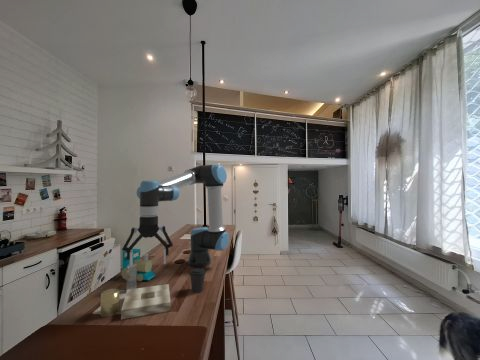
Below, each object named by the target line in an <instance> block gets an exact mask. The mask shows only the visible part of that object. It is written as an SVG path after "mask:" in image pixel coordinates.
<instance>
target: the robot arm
mask: <svg viewBox="0 0 480 360" xmlns="http://www.w3.org/2000/svg"><path fill="white" fill-rule="evenodd" d="M227 176H228V175H227V171H226V168H225V167H224V166H222V165H221V164H207V165H198V166H195V167H191V168H189V169H187V170H185V171H184V172H182V173H180V174H177V175H173V176H171V177H169V178H164V179H162V180H159V181H158V180H142V181H141V182H140V185H139V186H138V188H137V189H136V197H137V198H138V199H139V216H140V217H139V226H138V227H134V226H133V227H131V230H130V234H129V236H128V238H127V240H126V241H125V244H124V245H123V246H122V249H121V251H122V252H123V251H126V252H127V253H126V256H127V259H130V268H132V254H133V250H131V249H134V247H135V246H136V245H137V244H138V243H139V241H141V240H142V238H144V239H147V238H154V237H155V239H157V240H158V241H159V242H160V244H161V245H162V246H163V264H164V265H166V263H167V262H166V259H167V256H169V250H170V248H172V247H173V242H172V240H171V238H170V236H169V233H168V232H167V230H166V226H165V225H162V226H159V216H158V215H159V202H172V201H177V199H178V198H179V196H180V189H181V188H184V187H185V186H187V185H190V186H192V185H194V184H196V185H197V184H204V187H205V189H207V190H206V191H207V208H208V209H207V210H208V225H209V226H208V227H207V226H204V227H197V228H196V227H195V228H193V229H191V230H190V253H189V256H188V259H187V265H188V266H190V267H194V268H201V267H206V266H209V265H211V263H212V259H211V255H210V252H209V250H213V251H217V252H218V251H221V252H222V251H223V252H224V250H226V249H227V248H228V246H229V243H230V234H229V232H227V231H226V227H225V226H224V225H223V222H224V219H223V207H222V206H223V204H222V203H223V201H222V188H223V187H224V184H225V183H226V181H227V178H228V177H227ZM159 230H160V231H161V232H162V234H163V235H164V237H165V239H166V240H167V242H166V241H165V240H164V239H163V238H162V236H161V235H159V233H158V232H159ZM137 232H138V233H139V235H138V236H137V238H135V239H134V240H133V242H132V244H130V242H131V241H132V239H133V236H134V234H136V233H137ZM128 245H130V246H128ZM133 255H134V254H133Z"/></svg>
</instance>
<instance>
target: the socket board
mask: <svg viewBox="0 0 480 360" xmlns="http://www.w3.org/2000/svg"><path fill="white" fill-rule="evenodd" d="M170 292H171V291H170V284H169V283H167V284H166V283H165V284H159V285H158V284H157V285H151V286H145V287H139V288H137V287H136V289H129V290H127V293H125V297H124V299H123V304H122V307H121V311H120V316H121V317H120V321H121V320H127V319H132V318H137V317H143V316H149V315H154V314H158V313H159V314H160V313H165V312H170V311H171V293H170Z"/></svg>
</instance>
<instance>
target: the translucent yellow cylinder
mask: <svg viewBox="0 0 480 360" xmlns="http://www.w3.org/2000/svg"><path fill="white" fill-rule="evenodd" d="M118 311H119V312H120V289H118V288H111V289H106V290H104V291H102V292H101V293H100V311H99V312H100V313H99V315H100V316H101V317H102V318H109V317H113V316H115V315H117V314H118V313H119V312H118ZM117 312H118V313H117ZM116 313H117V314H116Z"/></svg>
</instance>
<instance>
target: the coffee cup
mask: <svg viewBox="0 0 480 360" xmlns="http://www.w3.org/2000/svg"><path fill="white" fill-rule="evenodd" d="M206 273H207V271H206V269H204V268H201V267H195V268H193V269H191V270H189V275H190V284H191V292H192V293H194V294H199V293H201V292H203V290H204V286H205V285H204V284H205V275H206Z"/></svg>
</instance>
